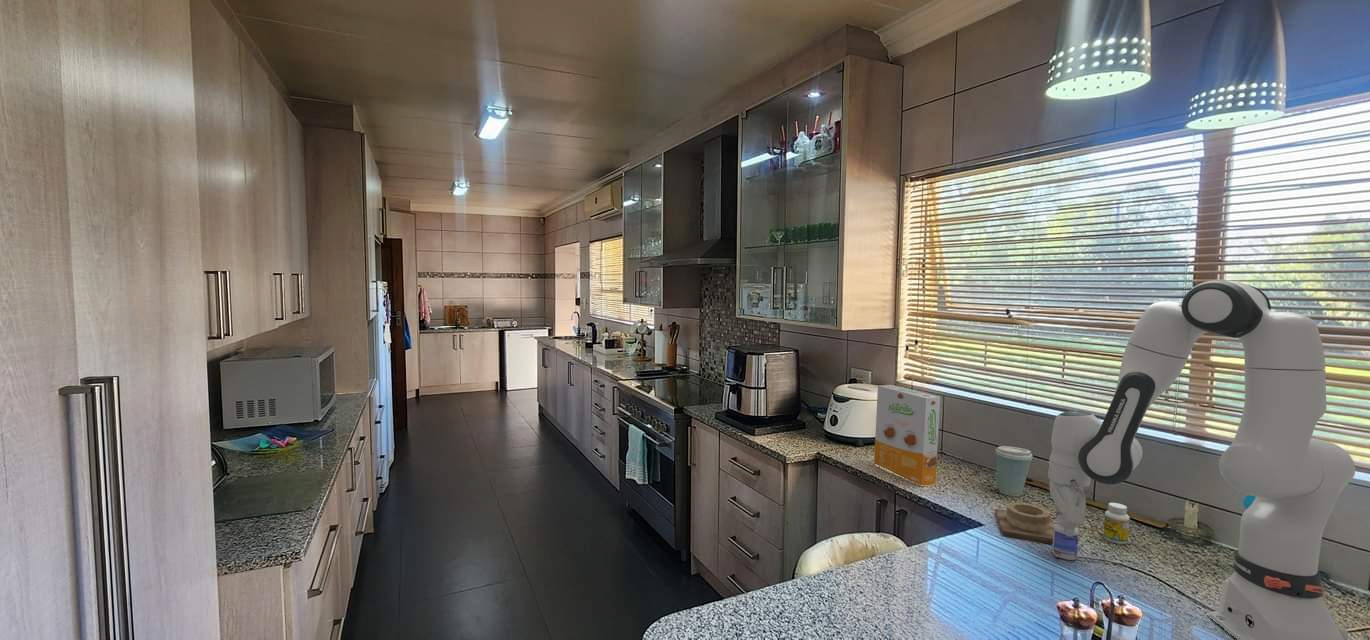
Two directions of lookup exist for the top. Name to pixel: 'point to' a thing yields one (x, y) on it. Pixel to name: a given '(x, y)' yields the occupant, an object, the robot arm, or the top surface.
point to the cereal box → (907, 433)
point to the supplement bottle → (1116, 524)
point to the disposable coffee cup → (1012, 469)
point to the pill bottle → (1064, 541)
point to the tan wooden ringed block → (1026, 522)
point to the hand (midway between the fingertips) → (1064, 527)
